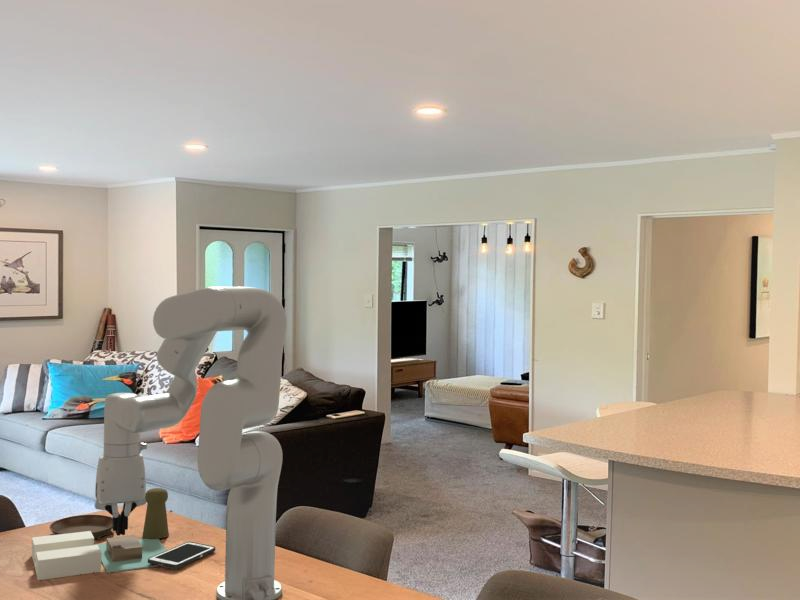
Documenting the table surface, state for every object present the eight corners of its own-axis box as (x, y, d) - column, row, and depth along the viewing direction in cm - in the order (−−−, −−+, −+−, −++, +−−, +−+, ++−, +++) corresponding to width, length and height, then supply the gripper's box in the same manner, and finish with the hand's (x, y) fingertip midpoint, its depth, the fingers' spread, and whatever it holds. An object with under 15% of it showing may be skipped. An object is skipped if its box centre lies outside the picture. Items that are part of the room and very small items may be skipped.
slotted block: (101, 571, 167) (101, 552, 167) (37, 580, 162) (38, 560, 162) (90, 548, 181) (90, 530, 181) (31, 555, 176) (32, 537, 176)
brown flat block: (113, 550, 172) (113, 562, 172) (142, 546, 175) (142, 558, 175) (106, 538, 180) (106, 549, 180) (134, 534, 183) (134, 545, 183)
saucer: (93, 547, 183) (93, 535, 183) (35, 541, 186) (35, 529, 186) (127, 528, 198) (128, 517, 198) (73, 523, 201) (73, 512, 201)
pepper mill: (140, 533, 193) (141, 487, 193) (166, 531, 195) (167, 485, 196) (144, 539, 187) (145, 491, 188) (170, 537, 190) (171, 490, 190)
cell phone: (145, 563, 171) (145, 559, 171) (188, 545, 185) (189, 541, 185) (175, 570, 168) (175, 565, 168) (217, 551, 182) (217, 546, 182)
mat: (175, 563, 173) (175, 562, 173) (107, 573, 166) (107, 571, 166) (157, 538, 190) (157, 537, 190) (93, 546, 183) (94, 544, 183)
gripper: (153, 444, 183) (151, 524, 184) (83, 449, 176) (81, 533, 176) (160, 450, 177) (158, 534, 177) (87, 456, 169) (86, 543, 170)
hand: (120, 533), depth 177 cm, fingers closed
